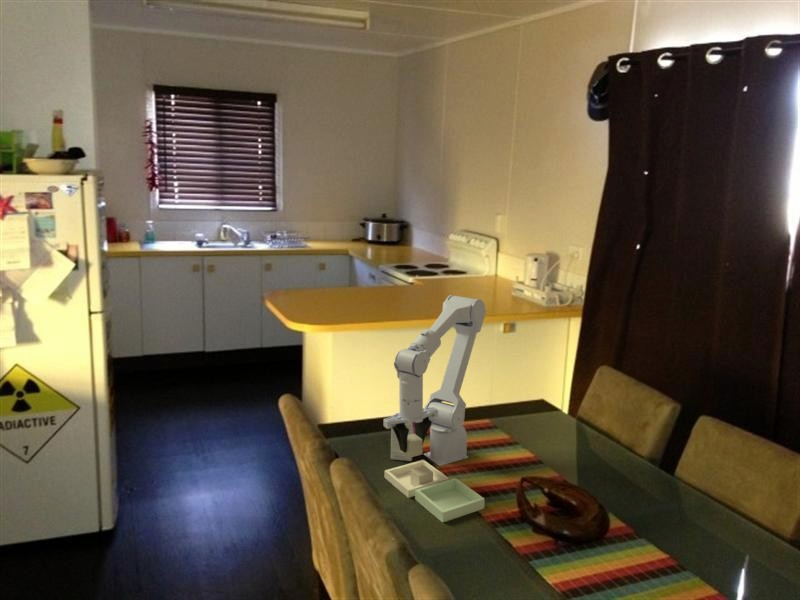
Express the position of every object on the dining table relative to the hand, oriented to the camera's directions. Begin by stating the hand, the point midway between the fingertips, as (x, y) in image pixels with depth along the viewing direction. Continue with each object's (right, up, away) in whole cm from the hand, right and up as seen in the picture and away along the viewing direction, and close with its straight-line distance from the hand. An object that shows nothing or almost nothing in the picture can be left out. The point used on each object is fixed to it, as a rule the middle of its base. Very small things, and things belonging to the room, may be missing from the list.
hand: (411, 448), depth 171 cm
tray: (+1, -9, 0) cm, 9 cm away
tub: (+9, -11, -11) cm, 18 cm away
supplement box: (-2, -6, +14) cm, 15 cm away
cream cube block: (0, -1, 0) cm, 1 cm away
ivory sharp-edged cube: (+3, -9, -2) cm, 9 cm away
